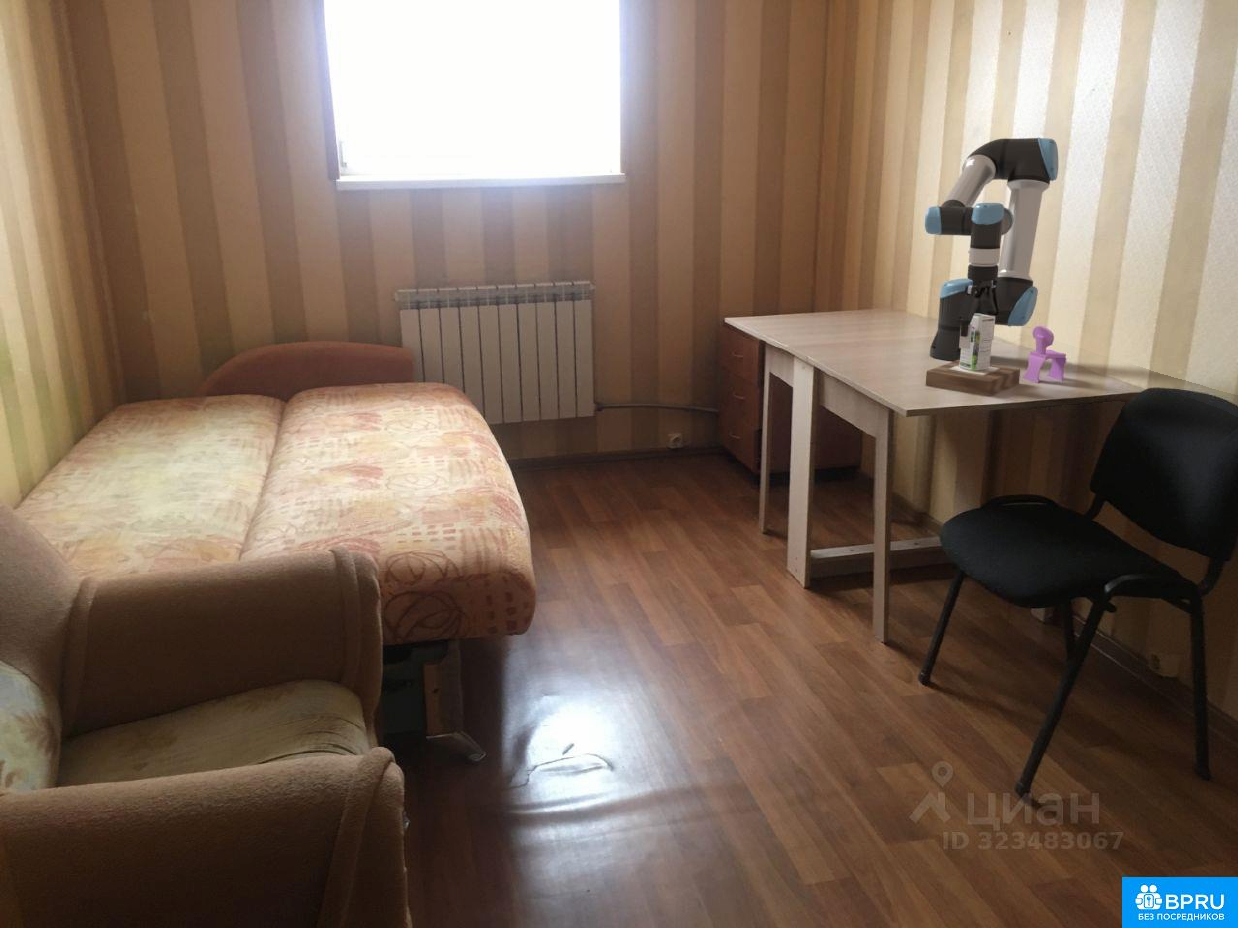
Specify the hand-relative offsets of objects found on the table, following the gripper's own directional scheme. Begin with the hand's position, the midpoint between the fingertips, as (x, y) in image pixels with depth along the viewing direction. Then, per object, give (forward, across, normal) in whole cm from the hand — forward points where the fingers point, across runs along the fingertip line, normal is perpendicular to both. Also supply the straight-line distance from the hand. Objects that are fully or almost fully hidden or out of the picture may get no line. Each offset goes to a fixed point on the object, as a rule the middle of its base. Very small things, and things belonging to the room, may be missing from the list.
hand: (976, 344), depth 272 cm
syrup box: (+7, 0, 0) cm, 7 cm away
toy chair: (+11, -18, +12) cm, 24 cm away
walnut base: (+11, 0, 0) cm, 11 cm away
